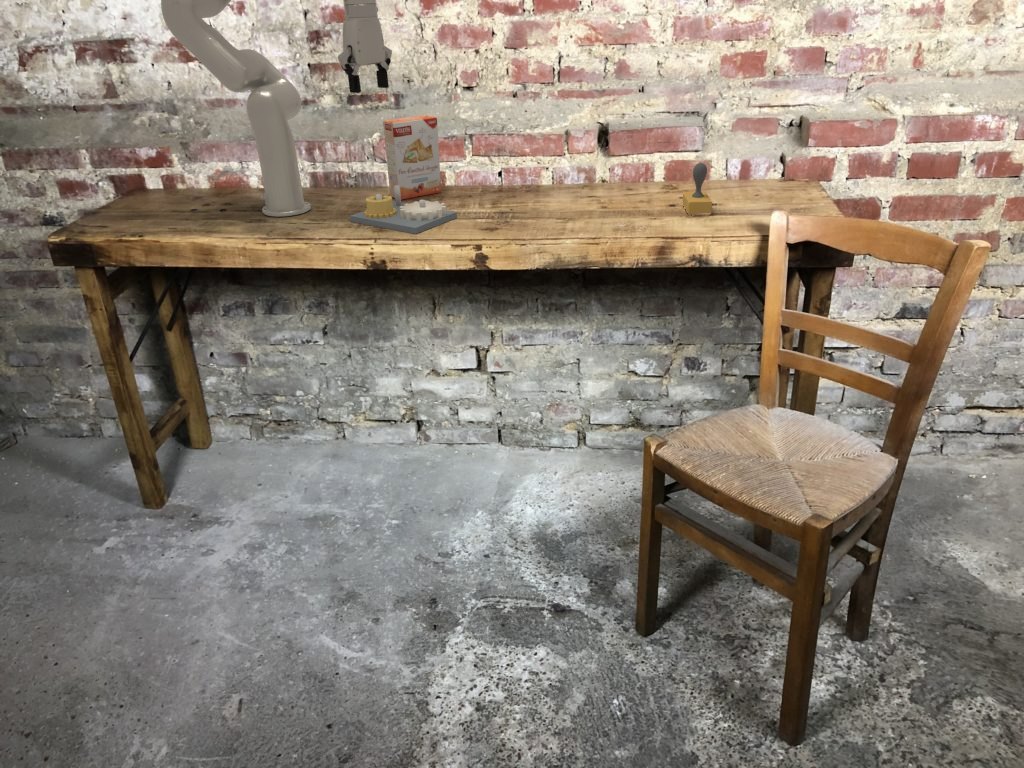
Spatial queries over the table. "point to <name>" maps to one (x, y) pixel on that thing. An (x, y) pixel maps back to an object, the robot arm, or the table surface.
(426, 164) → the cracker box
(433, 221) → the gear board
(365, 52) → the robot arm
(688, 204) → the rubber stamp
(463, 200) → the table surface
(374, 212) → the gear
